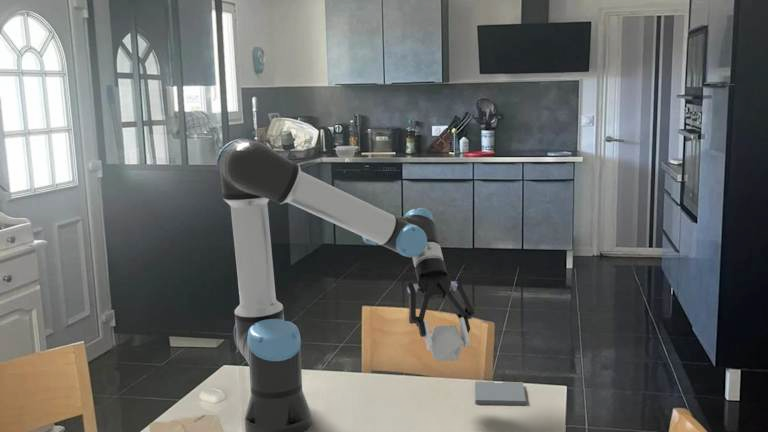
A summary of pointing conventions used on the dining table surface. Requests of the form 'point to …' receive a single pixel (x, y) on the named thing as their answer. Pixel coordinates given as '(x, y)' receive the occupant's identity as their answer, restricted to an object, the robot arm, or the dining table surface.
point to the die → (446, 343)
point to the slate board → (499, 393)
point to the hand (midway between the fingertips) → (448, 346)
